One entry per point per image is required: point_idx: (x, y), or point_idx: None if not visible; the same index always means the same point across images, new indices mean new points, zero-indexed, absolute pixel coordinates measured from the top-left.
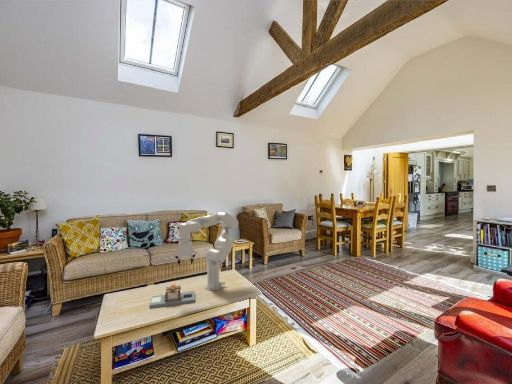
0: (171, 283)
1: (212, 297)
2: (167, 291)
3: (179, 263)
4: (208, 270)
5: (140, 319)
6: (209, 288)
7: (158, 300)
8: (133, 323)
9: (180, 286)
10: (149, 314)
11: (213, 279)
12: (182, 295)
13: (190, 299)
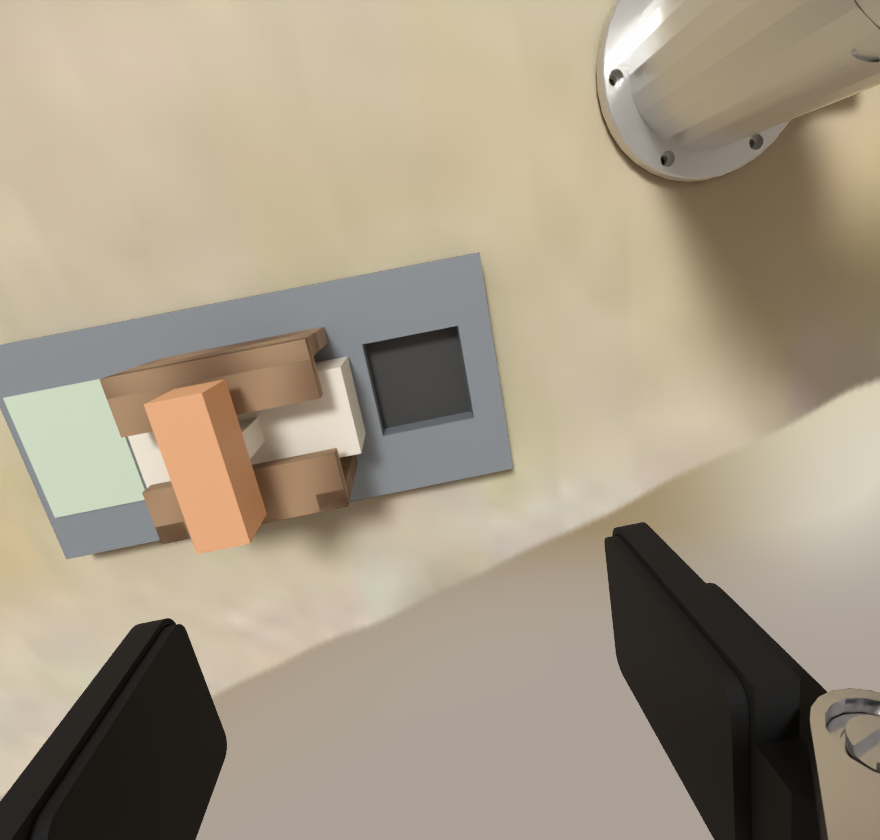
0: (175, 484)
1: (677, 360)
2: (179, 517)
3: (190, 819)
4: (841, 2)
5: None
6: (655, 146)
7: (114, 470)
8: None
9: (311, 369)
10: None
11: (794, 114)
12: (353, 362)
13: (466, 464)
